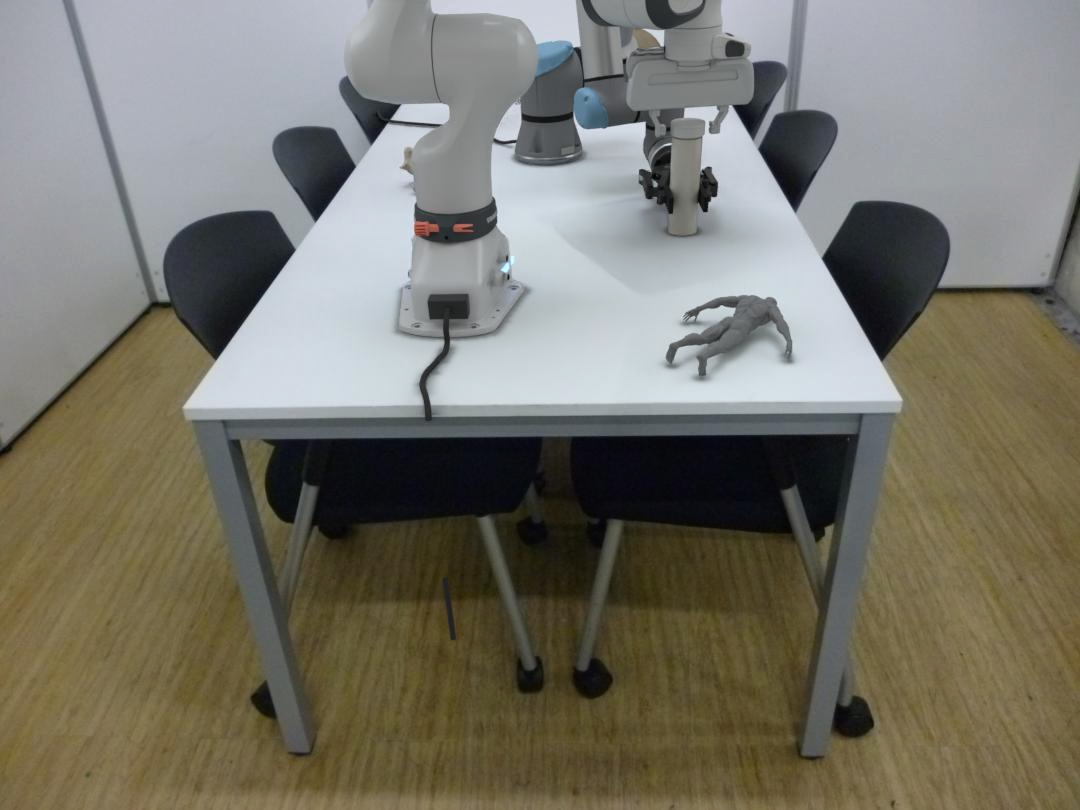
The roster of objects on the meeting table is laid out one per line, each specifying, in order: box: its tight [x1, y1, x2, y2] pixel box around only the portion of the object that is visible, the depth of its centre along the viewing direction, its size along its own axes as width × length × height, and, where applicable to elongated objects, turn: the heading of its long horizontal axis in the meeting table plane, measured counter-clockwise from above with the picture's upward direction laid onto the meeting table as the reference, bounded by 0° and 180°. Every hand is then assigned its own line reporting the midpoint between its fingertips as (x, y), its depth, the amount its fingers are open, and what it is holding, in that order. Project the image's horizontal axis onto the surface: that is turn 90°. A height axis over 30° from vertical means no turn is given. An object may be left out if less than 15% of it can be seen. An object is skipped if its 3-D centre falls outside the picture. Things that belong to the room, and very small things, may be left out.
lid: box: [670, 117, 706, 138], centre depth 137 cm, size 6×6×2 cm
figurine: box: [665, 294, 793, 377], centre depth 110 cm, size 17×4×20 cm
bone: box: [399, 146, 415, 193], centre depth 172 cm, size 10×6×10 cm
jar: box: [667, 135, 704, 237], centre depth 142 cm, size 5×5×18 cm
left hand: (687, 134), depth 138 cm, fingers open, 8 cm apart
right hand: (688, 205), depth 139 cm, fingers closed on jar, 5 cm apart
